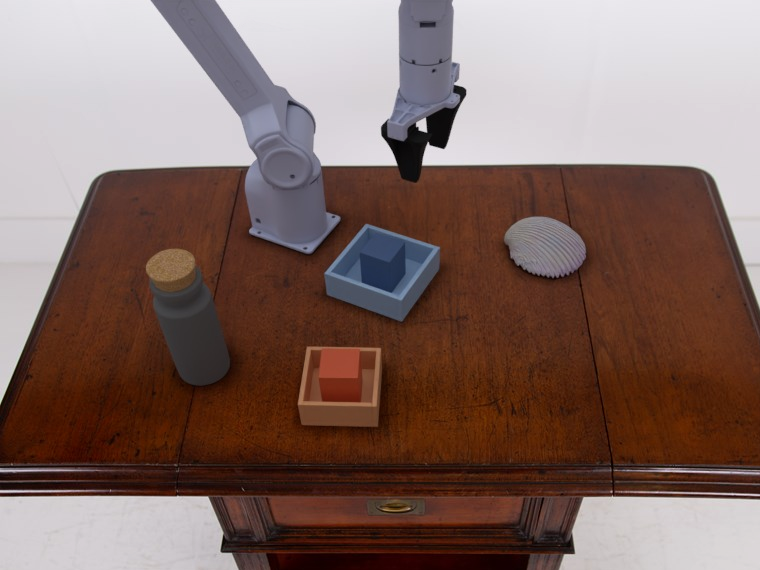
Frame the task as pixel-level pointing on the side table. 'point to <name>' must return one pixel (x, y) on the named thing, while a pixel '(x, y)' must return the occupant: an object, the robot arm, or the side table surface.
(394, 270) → the slate block
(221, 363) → the bottle
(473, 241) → the side table surface
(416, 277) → the bin
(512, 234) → the seashell
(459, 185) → the side table surface
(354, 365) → the terracotta block
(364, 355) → the warm bin
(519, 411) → the side table surface
